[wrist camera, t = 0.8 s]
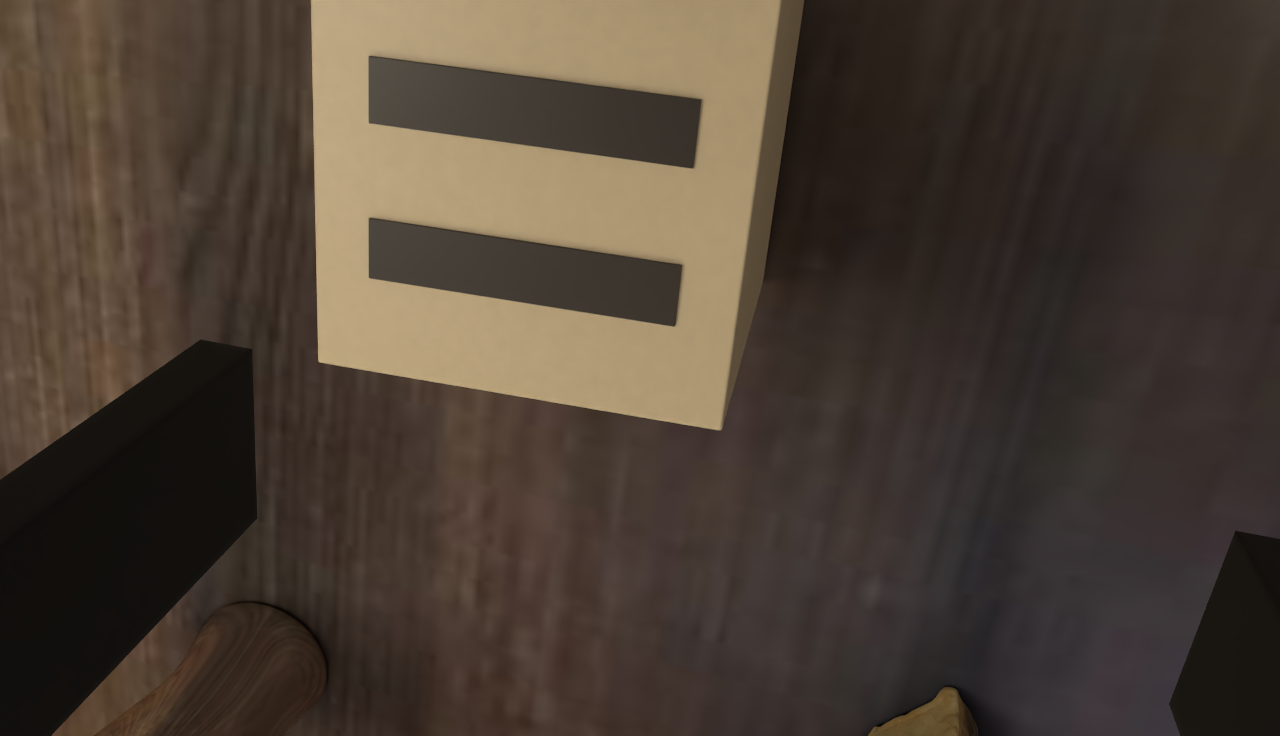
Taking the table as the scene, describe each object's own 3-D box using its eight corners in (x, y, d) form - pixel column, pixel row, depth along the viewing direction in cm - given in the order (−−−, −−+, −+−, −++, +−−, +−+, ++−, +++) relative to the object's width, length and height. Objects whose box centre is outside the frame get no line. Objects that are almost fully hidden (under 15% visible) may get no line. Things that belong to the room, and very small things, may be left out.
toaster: (478, -262, 35) (300, -324, 24) (838, -229, 34) (820, -279, 23) (461, 237, 42) (315, 364, 31) (762, 282, 40) (721, 433, 29)
